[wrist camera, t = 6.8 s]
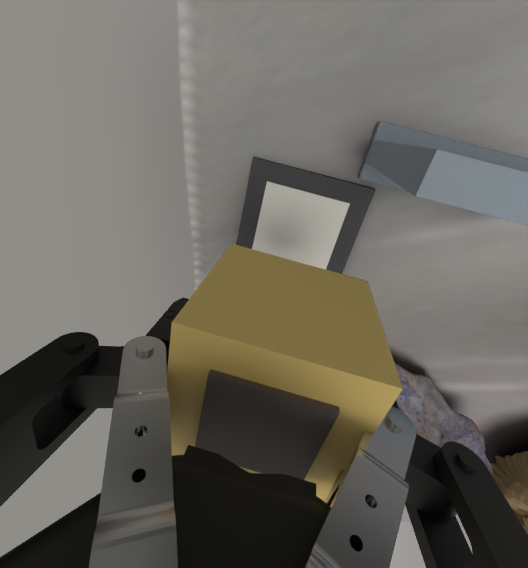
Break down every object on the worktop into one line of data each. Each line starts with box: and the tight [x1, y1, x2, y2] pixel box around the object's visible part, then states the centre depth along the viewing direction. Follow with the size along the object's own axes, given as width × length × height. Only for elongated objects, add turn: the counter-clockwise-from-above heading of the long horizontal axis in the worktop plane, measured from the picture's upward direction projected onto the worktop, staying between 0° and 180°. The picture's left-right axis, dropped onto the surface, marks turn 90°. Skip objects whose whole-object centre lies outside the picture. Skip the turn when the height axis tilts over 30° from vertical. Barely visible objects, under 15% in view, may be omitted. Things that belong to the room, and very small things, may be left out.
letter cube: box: [167, 244, 403, 501], centre depth 11 cm, size 6×6×6 cm
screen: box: [358, 121, 528, 226], centre depth 16 cm, size 4×12×14 cm, turn 77°
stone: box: [395, 363, 493, 477], centre depth 29 cm, size 18×10×15 cm
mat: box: [237, 157, 375, 274], centre depth 26 cm, size 10×10×1 cm
